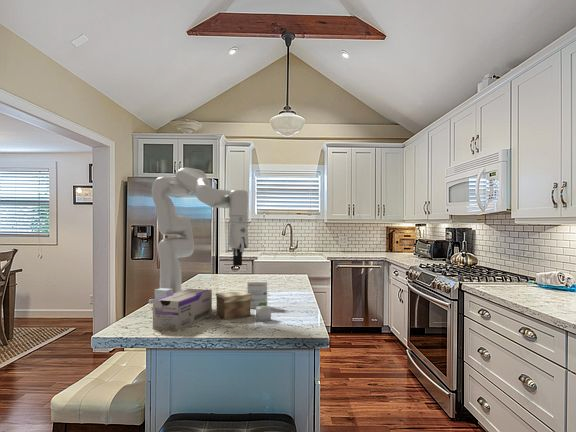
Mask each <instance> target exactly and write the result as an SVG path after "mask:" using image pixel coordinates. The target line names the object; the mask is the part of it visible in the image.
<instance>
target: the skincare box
mask: <svg viewBox="0 0 576 432" xmlns="http://www.w3.org/2000/svg"><path fill="white" fill-rule="evenodd" d="M170 294H173V289H166V288H160V287H159V288H154V299H157V298H161V297H164V296H167V295H170Z"/></svg>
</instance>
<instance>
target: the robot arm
mask: <svg viewBox="0 0 576 432" xmlns="http://www.w3.org/2000/svg"><path fill="white" fill-rule="evenodd" d="M192 193H194V194H195V197H196V198H197V200H198V201H200V202H201V203H203V204H204V205H207V206H209V207H211V208H217V209H221V208H222V209H228V224H229V225H230V226H229V234H228V235H229V236H228V245H229V247H230V249H231V251H232V265H233V266H234V267H241V266H243V253H244V252H245V249H249V229H248V228H249V227H248V221H249V220H248V218H249V216H248V214H249V211H248V210H249V207H248V206H249V194H248V191H247V190H244V189H232V190H228V189H227V190H226V189H220V188H218V189H217V188H214V187H212V186H211V180H210V179H209V178H208V177H207V174H206V173H205V172H204V171H203V170H201V169H199V168H198V169H197V168H192V167H181V168H179V169H178V170H177V171H176V173H175V177H173V176H159V177H157V178H156V179H155V180H154V181H153V183H152V186H151V197H152V200H153V203H154V207H155V213H156V221H157V226H158V231H159V234H160V235H163V236H177V237H166V238H163V239H162V240H160V241H159V242H158V244H157V253H158V258H159V289H160V288H166V289H173V294H174V293H177V292H180V291H182V265H181V263H180V261H179V259H180V258H187V257H191V256H192V255H193V254H194V251H195V243H194V242H195V240H194V233H193V227H192V223H191V221H190V219H189V218H188V217H187V216H186V215H182V214H181V215H177V213H176V207H175V205H174V202H173V201H172V199H171V198H170V197H169V196H177V197H178V196H179V197H186V196H189V195H191V194H192ZM154 299H155V298H152V299H148V304H151V305H153V300H154Z"/></svg>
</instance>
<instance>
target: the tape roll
mask: <svg viewBox="0 0 576 432" xmlns="http://www.w3.org/2000/svg"><path fill="white" fill-rule="evenodd" d="M266 321H267V322H270V321H272V307H271V306H270V305H267V306H257V307H256V308H255V322H260V323H265V322H266ZM267 322H266V323H267Z"/></svg>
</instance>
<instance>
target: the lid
mask: <svg viewBox="0 0 576 432" xmlns="http://www.w3.org/2000/svg"><path fill="white" fill-rule="evenodd" d="M215 296H216V297H217V296H219V297H221V298H224V303H230V302H239V301H248V300H252V294H250V293H248V292H245V291H243V290H239V291H227V292H219V293H217V292H216V293H215Z"/></svg>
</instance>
